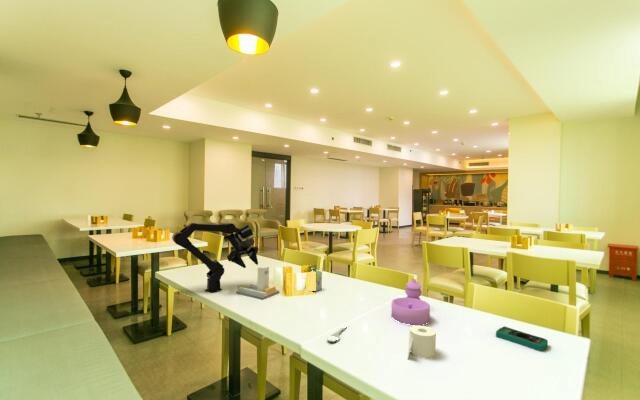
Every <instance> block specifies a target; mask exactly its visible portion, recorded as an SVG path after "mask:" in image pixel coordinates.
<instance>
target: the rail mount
mask: <svg viewBox="0 0 640 400" xmlns="http://www.w3.org/2000/svg"><path fill="white" fill-rule="evenodd" d="M257 287H258V284H255V283H249V287H248V286H247V287H242V286H240V287H238V290H236V291H235V293H236V294H237V295H242V296H246V297H250V298H254V299H258V300H262V301H263V300H266V299H267V298H270V297H273V296H275V295H277V294H279V293H280V290H278V288H277V287H276V286H274V285H273V286H270V287H269V288H267V289H265V292H260V291H257Z"/></svg>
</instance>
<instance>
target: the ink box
mask: <svg viewBox="0 0 640 400" xmlns="http://www.w3.org/2000/svg"><path fill="white" fill-rule="evenodd" d="M312 270H313V271H315V272H316V292H319V291H320V290H321V291H322V289H323V285H322V284H323V271H320V270H317V264H313V265H312V264H311V265H310V266H308V273H309V272H310V271H312ZM318 290H319V291H318Z"/></svg>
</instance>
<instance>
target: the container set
mask: <svg viewBox="0 0 640 400" xmlns="http://www.w3.org/2000/svg"><path fill="white" fill-rule="evenodd" d="M405 287H406V288H405V291H404V292H405V294H406V297H397V298H393V299H392V300H391V318H392V317H393V318H394V319H395V320H397V321H399V322H401V323H405V324H410V325H422V326H424V325H423V324H426V323H428V322H429V323H430V315H431V313H430V312H431V311H430V310H431V309H430V307H431V305H430V303H428V302H427V301H425V300H422V299H421V296H422V295H423V294H422V290H421V289H422V285H421V284H420V283H419V282H417V279H415V278H412V279H410V281H408V282H406V284H405ZM401 323H400V324H401ZM429 323H428V324H429ZM405 324H404V325H405ZM410 325H409V326H410ZM426 325H427V324H426Z"/></svg>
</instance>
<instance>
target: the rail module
mask: <svg viewBox="0 0 640 400" xmlns="http://www.w3.org/2000/svg"><path fill="white" fill-rule="evenodd" d="M269 279H270V266H266V265H261V266H258V267H257V285H258V287H257V291H260V292H265V289H267V288H269V286H270V284H269V283H270V281H269Z"/></svg>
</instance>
